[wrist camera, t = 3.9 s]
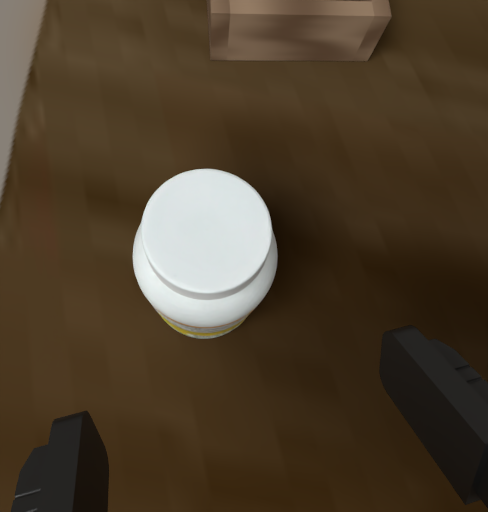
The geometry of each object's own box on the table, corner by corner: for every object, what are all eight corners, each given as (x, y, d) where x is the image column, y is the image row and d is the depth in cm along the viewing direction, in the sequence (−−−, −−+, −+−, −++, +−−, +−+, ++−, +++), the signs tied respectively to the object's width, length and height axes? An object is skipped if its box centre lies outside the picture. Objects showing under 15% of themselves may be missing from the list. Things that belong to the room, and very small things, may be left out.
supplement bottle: (213, 360, 21) (220, 358, 11) (131, 295, 21) (74, 241, 12) (275, 278, 22) (328, 217, 13) (198, 218, 22) (194, 117, 13)
